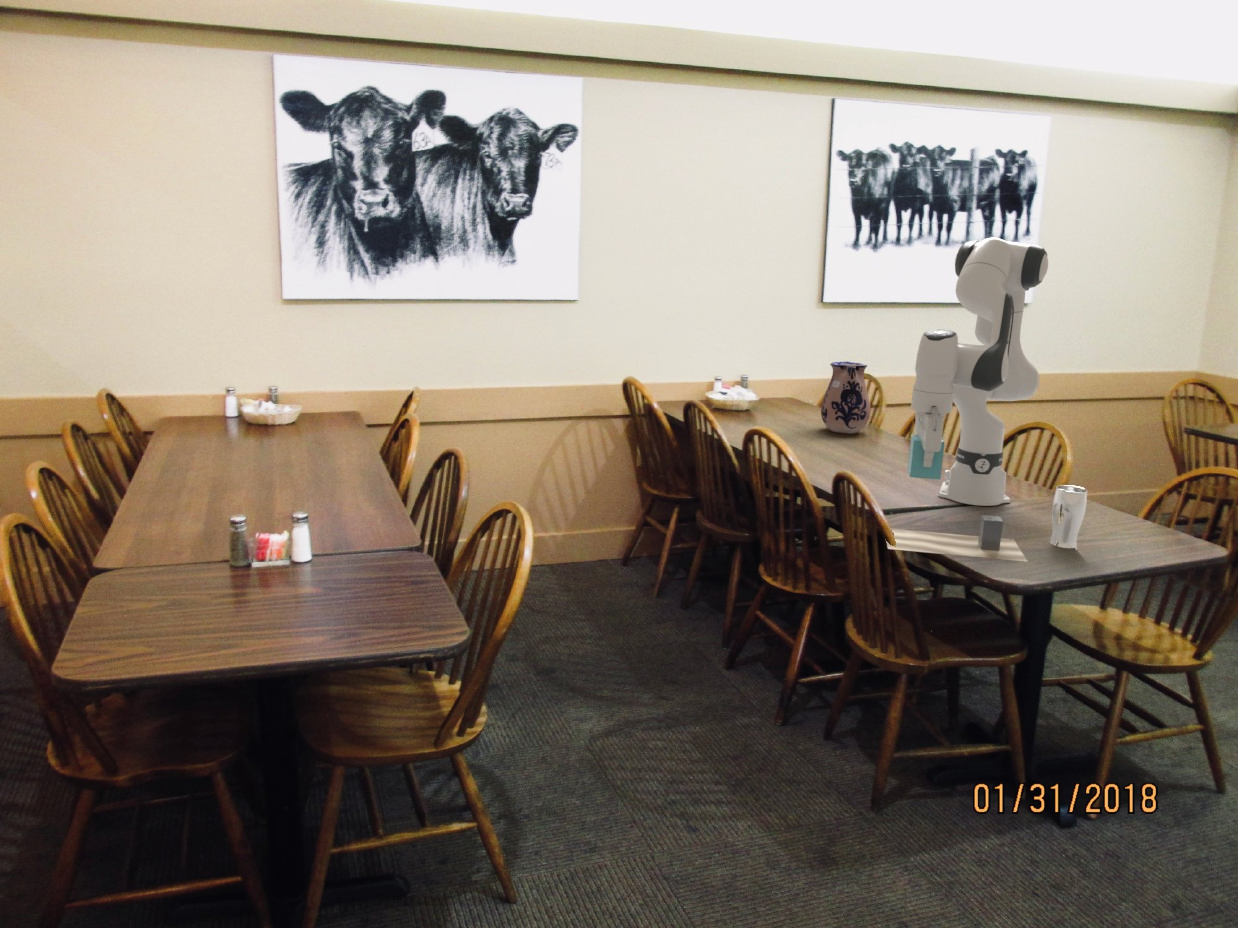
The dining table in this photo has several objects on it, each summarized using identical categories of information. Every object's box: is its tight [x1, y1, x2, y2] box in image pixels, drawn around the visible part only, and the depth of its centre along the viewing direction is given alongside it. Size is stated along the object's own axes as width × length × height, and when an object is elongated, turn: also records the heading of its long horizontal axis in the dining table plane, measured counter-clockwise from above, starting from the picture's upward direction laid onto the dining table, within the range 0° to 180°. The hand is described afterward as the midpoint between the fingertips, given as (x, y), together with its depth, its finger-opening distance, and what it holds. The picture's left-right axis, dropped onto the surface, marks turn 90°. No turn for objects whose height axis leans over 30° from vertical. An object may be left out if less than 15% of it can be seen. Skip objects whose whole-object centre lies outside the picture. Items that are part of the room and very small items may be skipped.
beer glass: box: [1049, 484, 1088, 551], centre depth 222 cm, size 7×7×15 cm
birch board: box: [885, 528, 1029, 563], centre depth 221 cm, size 16×30×2 cm, turn 78°
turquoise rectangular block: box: [907, 433, 945, 481], centre depth 218 cm, size 7×7×9 cm
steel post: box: [978, 514, 1004, 551], centre depth 219 cm, size 4×4×7 cm
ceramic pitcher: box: [820, 360, 871, 435], centre depth 348 cm, size 18×21×25 cm
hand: (925, 462), depth 218 cm, fingers closed on turquoise rectangular block, 7 cm apart
